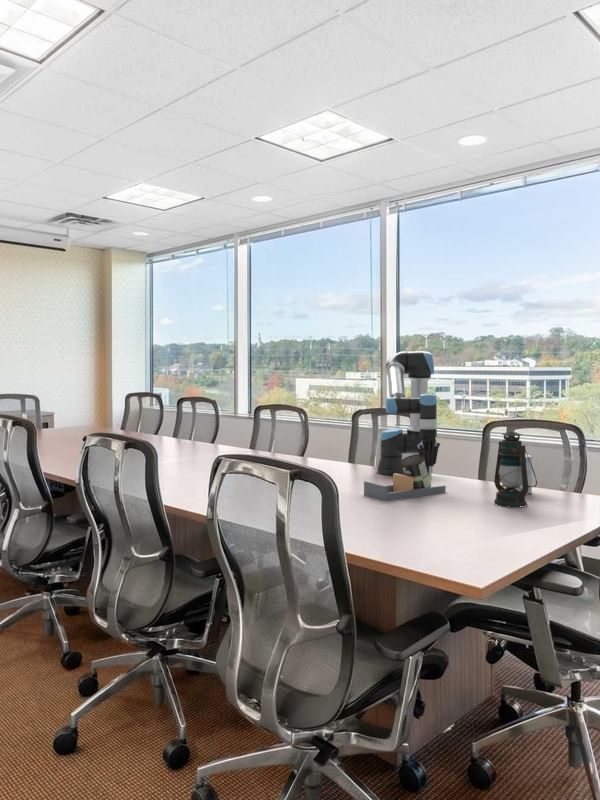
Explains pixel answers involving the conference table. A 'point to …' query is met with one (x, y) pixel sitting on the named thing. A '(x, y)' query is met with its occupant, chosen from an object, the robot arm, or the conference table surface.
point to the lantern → (511, 472)
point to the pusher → (402, 482)
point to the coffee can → (416, 471)
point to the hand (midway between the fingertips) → (428, 480)
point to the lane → (382, 491)
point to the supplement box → (528, 474)
